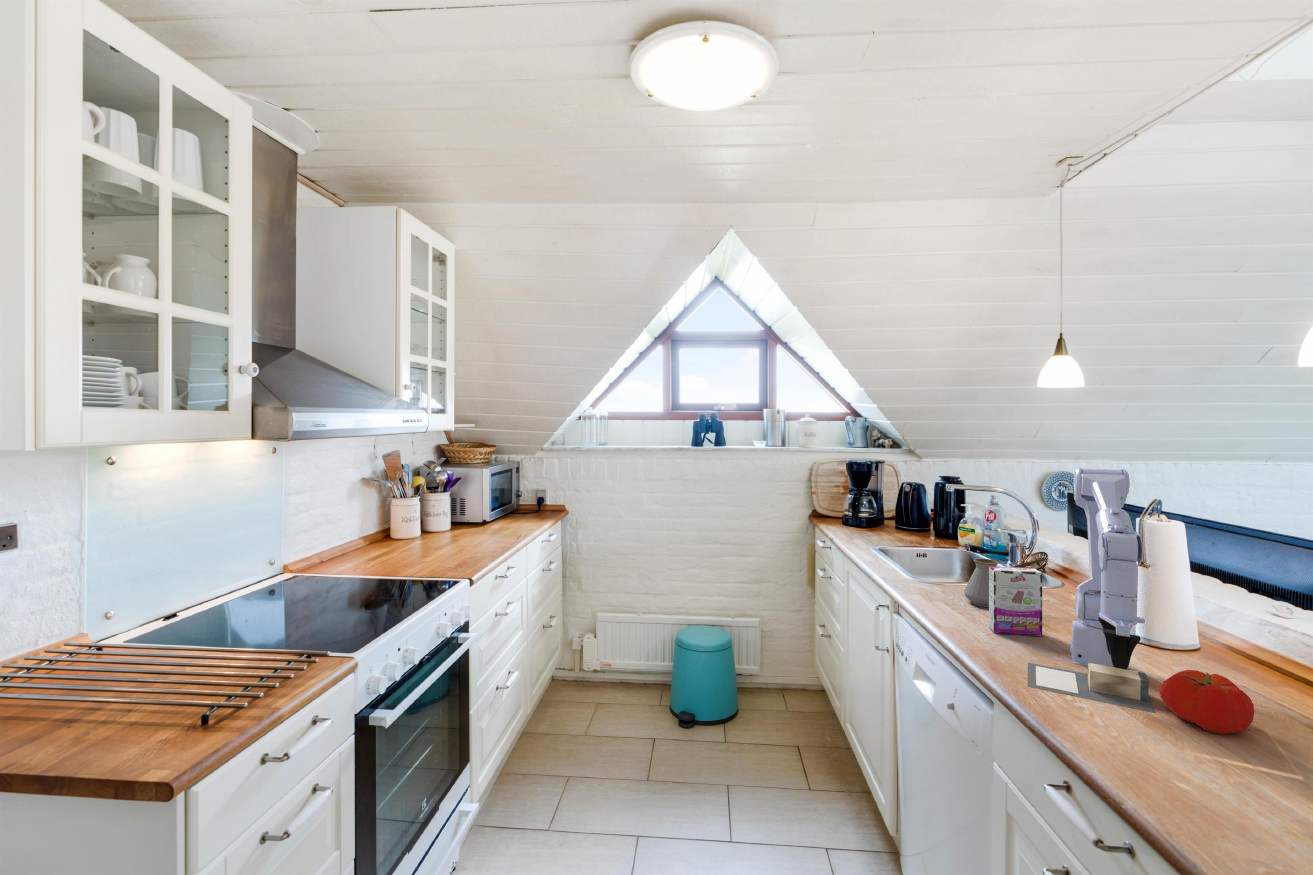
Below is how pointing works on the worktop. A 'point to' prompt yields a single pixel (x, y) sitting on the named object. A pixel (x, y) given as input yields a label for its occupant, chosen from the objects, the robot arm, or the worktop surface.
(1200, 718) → the tomato
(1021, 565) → the coffee pot
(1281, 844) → the worktop surface
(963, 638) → the worktop surface
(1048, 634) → the worktop surface
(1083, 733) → the worktop surface
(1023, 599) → the candy bar box
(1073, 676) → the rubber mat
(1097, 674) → the green and cream block
